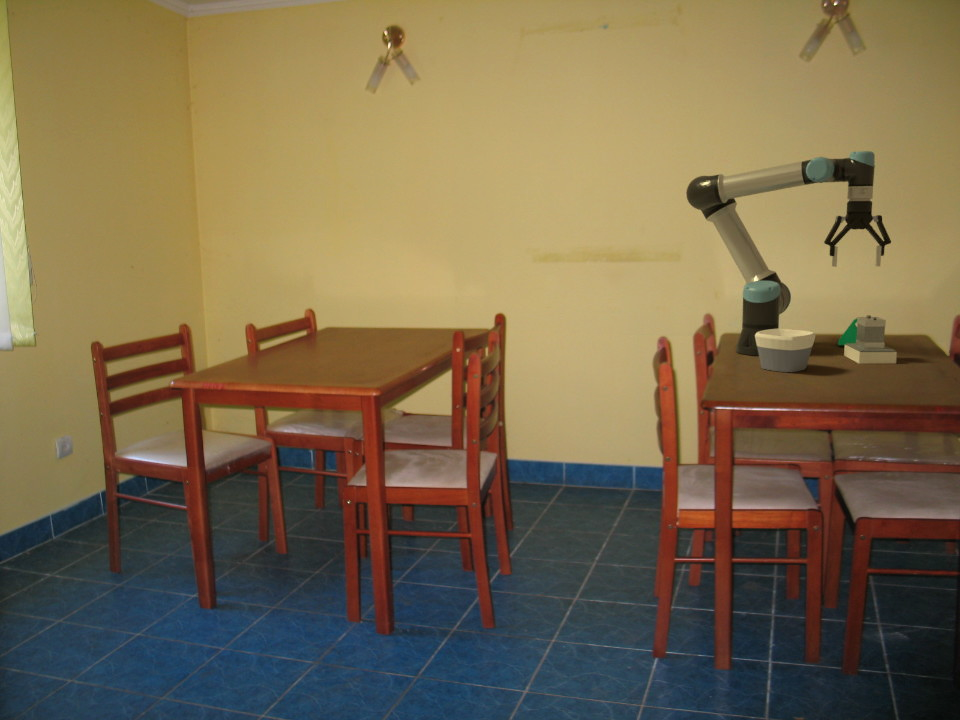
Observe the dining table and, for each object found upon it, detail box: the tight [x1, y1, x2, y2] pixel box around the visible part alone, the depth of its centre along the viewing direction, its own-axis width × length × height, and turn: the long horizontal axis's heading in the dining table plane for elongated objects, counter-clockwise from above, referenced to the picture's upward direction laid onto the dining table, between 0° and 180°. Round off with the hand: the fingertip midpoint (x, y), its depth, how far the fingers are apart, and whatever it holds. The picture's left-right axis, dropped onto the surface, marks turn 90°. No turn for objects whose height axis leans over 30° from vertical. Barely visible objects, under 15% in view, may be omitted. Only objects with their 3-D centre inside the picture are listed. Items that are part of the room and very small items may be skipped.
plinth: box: [843, 343, 897, 365], centre depth 283 cm, size 11×15×4 cm
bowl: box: [755, 328, 816, 373], centre depth 269 cm, size 15×15×11 cm
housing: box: [856, 315, 887, 349], centre depth 282 cm, size 6×8×10 cm
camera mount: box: [837, 317, 857, 346], centre depth 306 cm, size 12×8×10 cm, turn 64°
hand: (855, 266), depth 293 cm, fingers open, 13 cm apart
